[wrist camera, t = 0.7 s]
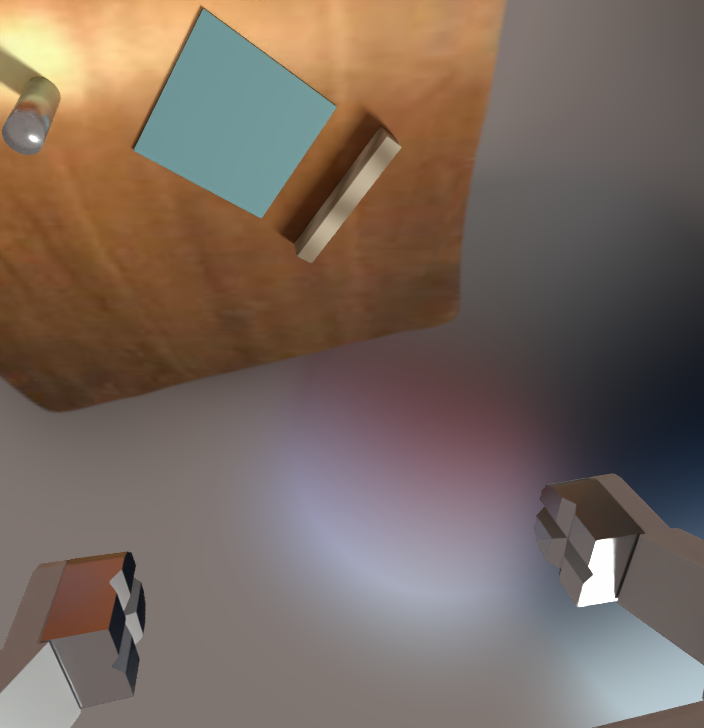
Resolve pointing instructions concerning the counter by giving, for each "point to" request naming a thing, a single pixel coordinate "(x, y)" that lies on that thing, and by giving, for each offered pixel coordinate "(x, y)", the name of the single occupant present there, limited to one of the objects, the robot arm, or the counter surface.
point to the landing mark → (232, 118)
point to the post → (32, 116)
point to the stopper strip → (347, 194)
